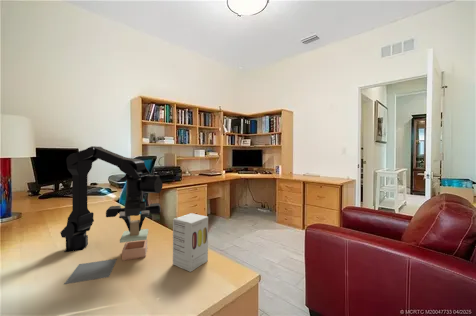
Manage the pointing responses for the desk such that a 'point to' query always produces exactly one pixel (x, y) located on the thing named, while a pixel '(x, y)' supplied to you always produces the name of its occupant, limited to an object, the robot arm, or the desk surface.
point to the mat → (91, 271)
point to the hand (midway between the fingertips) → (135, 231)
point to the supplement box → (190, 241)
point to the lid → (134, 233)
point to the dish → (134, 250)
